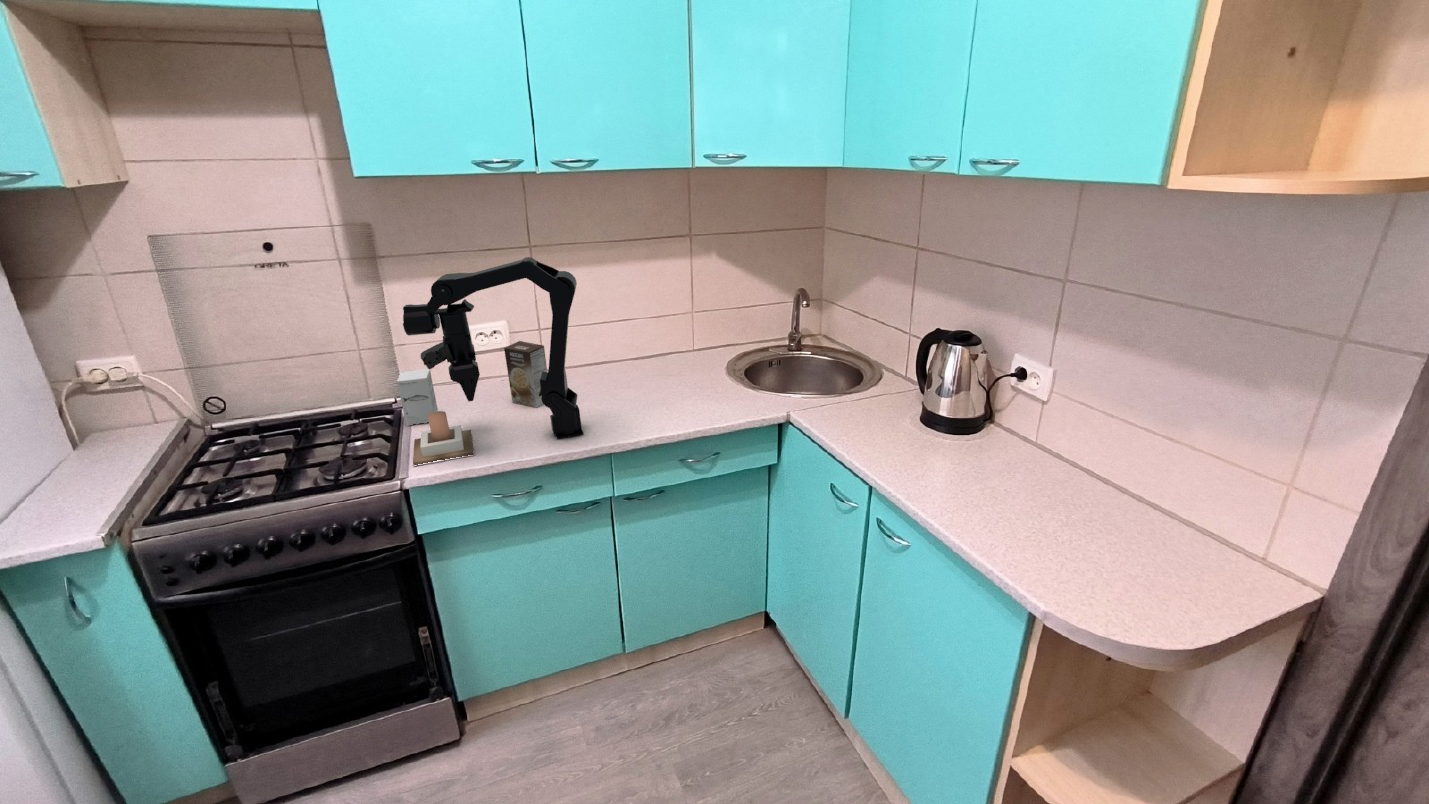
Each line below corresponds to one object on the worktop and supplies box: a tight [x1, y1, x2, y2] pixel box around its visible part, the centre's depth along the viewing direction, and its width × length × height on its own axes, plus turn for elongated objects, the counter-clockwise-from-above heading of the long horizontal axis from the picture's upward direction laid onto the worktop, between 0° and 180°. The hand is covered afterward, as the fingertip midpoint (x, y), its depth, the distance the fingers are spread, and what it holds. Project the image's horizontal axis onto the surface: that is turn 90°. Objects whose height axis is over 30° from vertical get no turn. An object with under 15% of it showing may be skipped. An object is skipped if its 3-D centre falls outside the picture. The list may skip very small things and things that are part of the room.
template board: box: [412, 424, 475, 466], centre depth 159 cm, size 13×13×4 cm
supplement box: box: [396, 368, 439, 427], centre depth 174 cm, size 7×7×13 cm
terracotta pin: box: [428, 410, 451, 443], centre depth 158 cm, size 4×4×8 cm
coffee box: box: [503, 340, 548, 408], centre depth 182 cm, size 9×6×16 cm
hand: (469, 394), depth 159 cm, fingers open, 9 cm apart
